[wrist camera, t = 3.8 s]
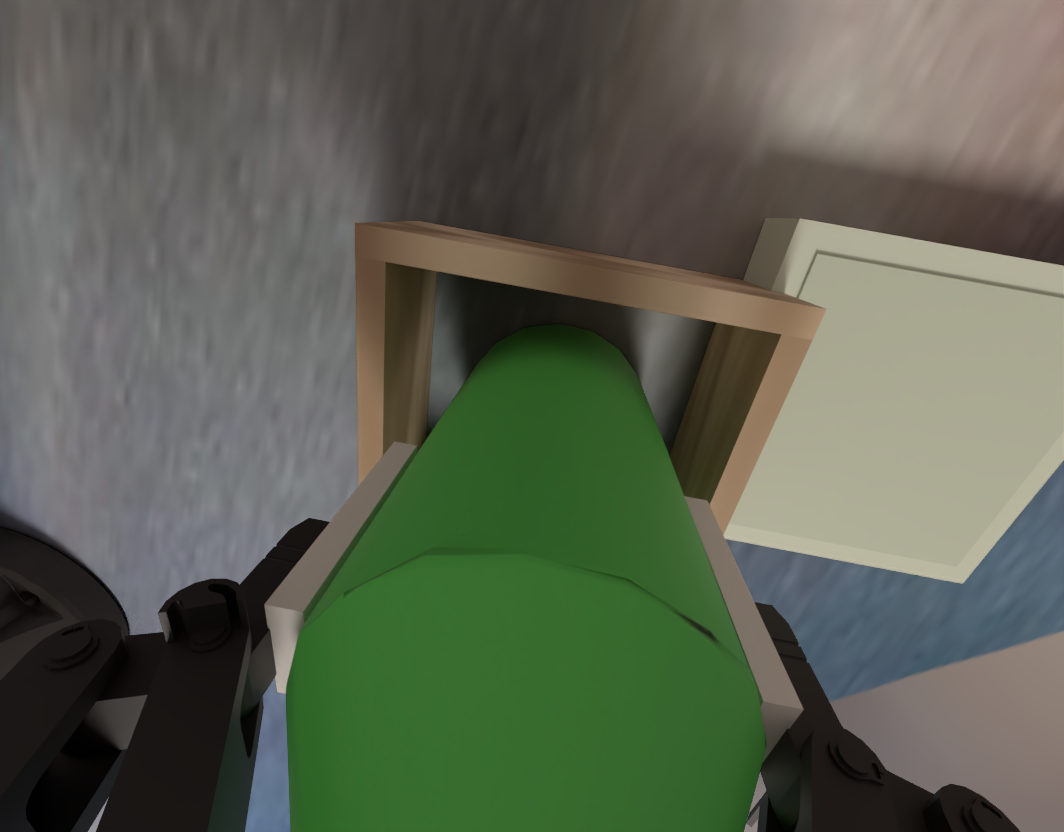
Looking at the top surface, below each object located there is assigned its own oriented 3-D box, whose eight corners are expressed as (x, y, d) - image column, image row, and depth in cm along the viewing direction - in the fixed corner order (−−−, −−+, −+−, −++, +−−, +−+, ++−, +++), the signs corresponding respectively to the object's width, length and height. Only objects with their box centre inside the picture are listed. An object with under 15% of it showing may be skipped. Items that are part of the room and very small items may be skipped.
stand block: (665, 493, 24) (678, 531, 21) (765, 217, 18) (801, 218, 15) (918, 541, 24) (965, 586, 21) (1105, 279, 18) (1208, 291, 15)
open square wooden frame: (405, 495, 25) (359, 571, 20) (417, 220, 19) (354, 222, 14) (656, 543, 25) (678, 633, 20) (754, 281, 19) (826, 309, 13)
